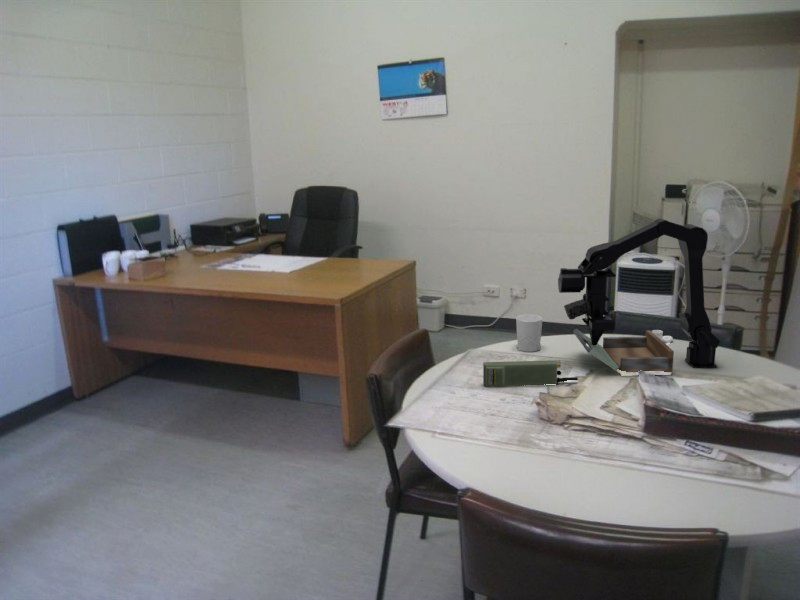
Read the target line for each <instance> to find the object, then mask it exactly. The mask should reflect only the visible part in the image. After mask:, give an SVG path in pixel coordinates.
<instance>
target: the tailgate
mask: <svg viewBox="0 0 800 600" xmlns="http://www.w3.org/2000/svg"><path fill="white" fill-rule="evenodd" d="M572 332H573V334H574V336H576V338H577V339H578V341H579V342H580V344H581V345H582V346H583V348H584V349H585V351H586V352H587V353H588V354H590V355H592V356H594V357H595V358H596V359H598V360H600V361H601V362H602V363H604V364H606V365H607V366H608V367H610V368H612V369H613V370H615V371H616V370H617V369H618V368H619V367H618V366H617V364H616V363H615V362H614V361H613V359H612V358H611V357H610V356H609V355H608V353H607V352H606V351H605V350H604V348H603V345H601V344H600V343H599V342H598V343H597V345H592V342H591V338H590V336H587V335H586V334H585V333H583V332H581V331H580V330H579V329H578V328H575V329H573V331H572Z"/></svg>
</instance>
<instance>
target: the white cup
mask: <svg viewBox="0 0 800 600" xmlns="http://www.w3.org/2000/svg"><path fill="white" fill-rule="evenodd" d="M515 319H516V320H515V321H516V340H517V349H518V350H519V351H521V352H526V353H527V352H528V353H533V352H537V351H540V349H541V341H542V331H543V330H542V327H543V317H542V316H540V315H537V314H519V315H518V316H516V318H515Z"/></svg>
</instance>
